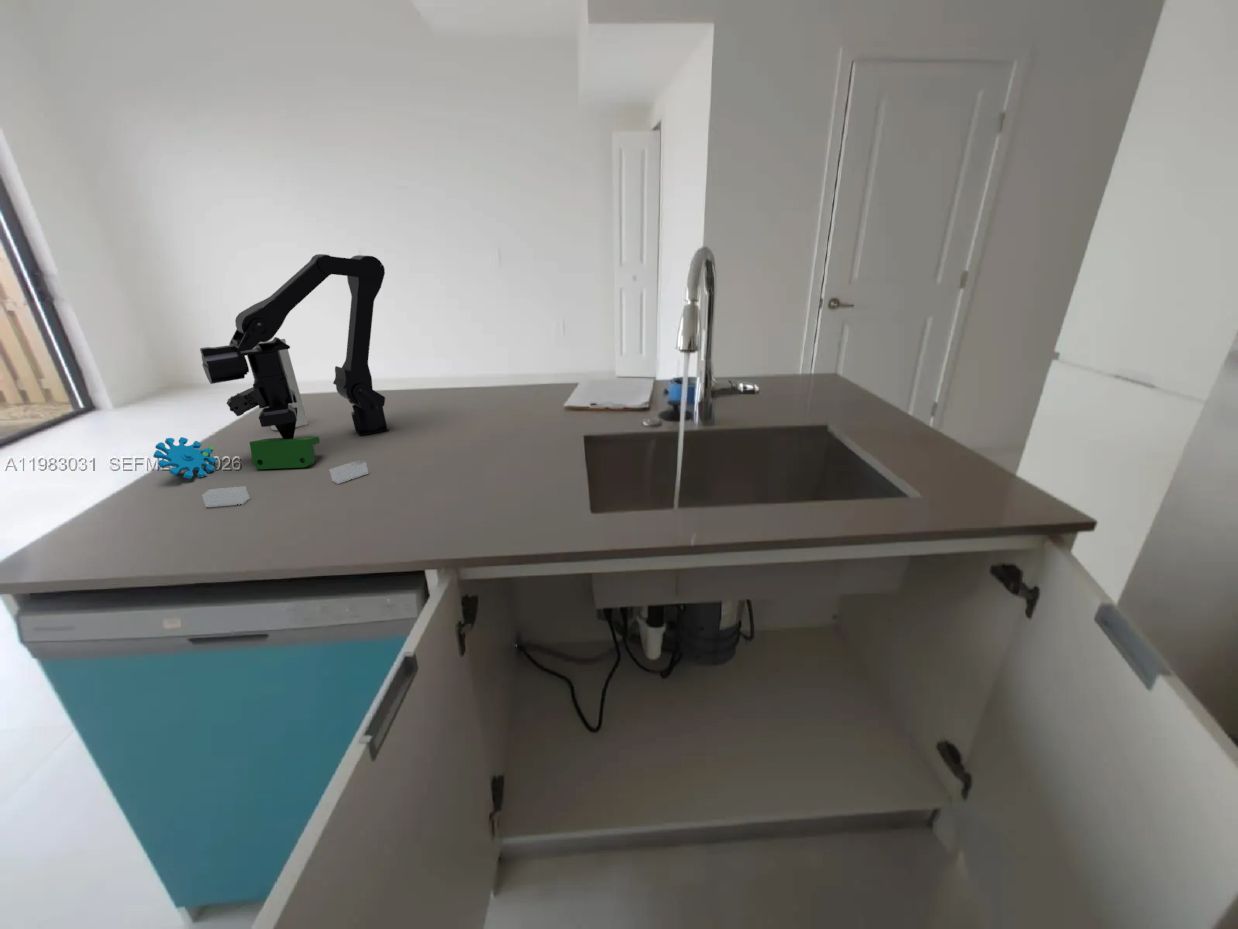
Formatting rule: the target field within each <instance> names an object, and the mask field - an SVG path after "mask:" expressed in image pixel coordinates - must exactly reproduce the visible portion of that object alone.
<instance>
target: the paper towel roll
mask: <svg viewBox="0 0 1238 929" xmlns="http://www.w3.org/2000/svg"><path fill="white" fill-rule="evenodd" d="M273 339H274V337H273V338H272V339H270V340H269V341H266V342H260V343H267V342H272V341H273ZM279 339H280V338H279ZM280 340H281V341H282V342H283V343H285V344H287V341H286V338H281V339H280ZM260 343H259V344H260ZM255 348H256V346H255V347H254V348H253V349H255ZM279 351H280V355H281V358H282V362H283V366H284V369H285V373H286V374H287V377H288V383H289V387H290V389H291V390H293V391H294V392H295V394H296V397H297V402H296V403H294V401H293V403H290V404H289V405H292V407H294V408H297V421H296V427H295V429H296V428H299V427H302V426H306V425H308V424H309V423H308V419H307V415H306V411H305V406H304V404H303V400H302V396H301V393H300V389H299V385H298V382H297V378H296V374H295V370H294V367H293V363H292V360H291V356H290V352H289V349H285V350H279ZM266 408H268V407H266ZM270 428H271V430H272V431H278V430H277V428H276V427H275V425H274V426H270ZM278 432H279V431H278Z"/></svg>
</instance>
